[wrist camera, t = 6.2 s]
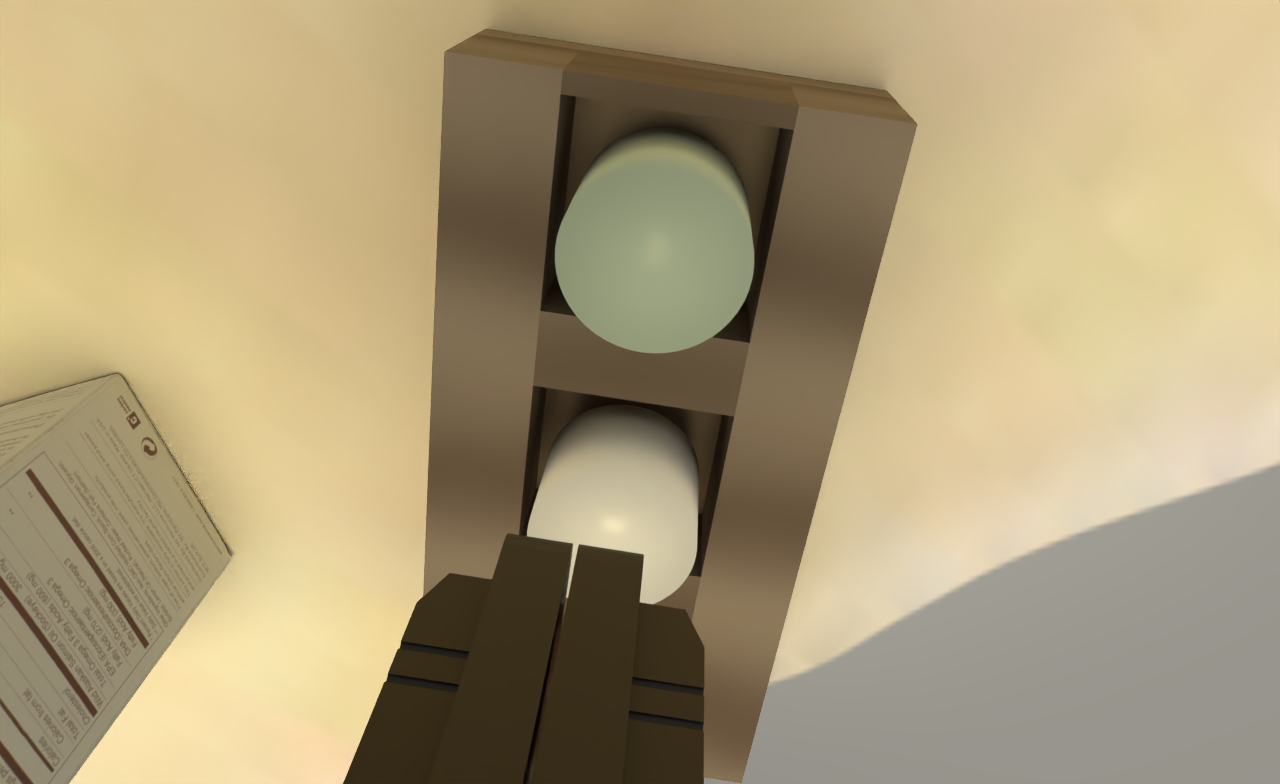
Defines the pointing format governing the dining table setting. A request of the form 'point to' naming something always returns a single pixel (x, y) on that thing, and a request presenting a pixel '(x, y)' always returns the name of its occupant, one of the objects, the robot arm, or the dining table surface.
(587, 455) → the cream pill shape
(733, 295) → the sage button
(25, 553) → the supplement box
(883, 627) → the dining table surface
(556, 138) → the frame
